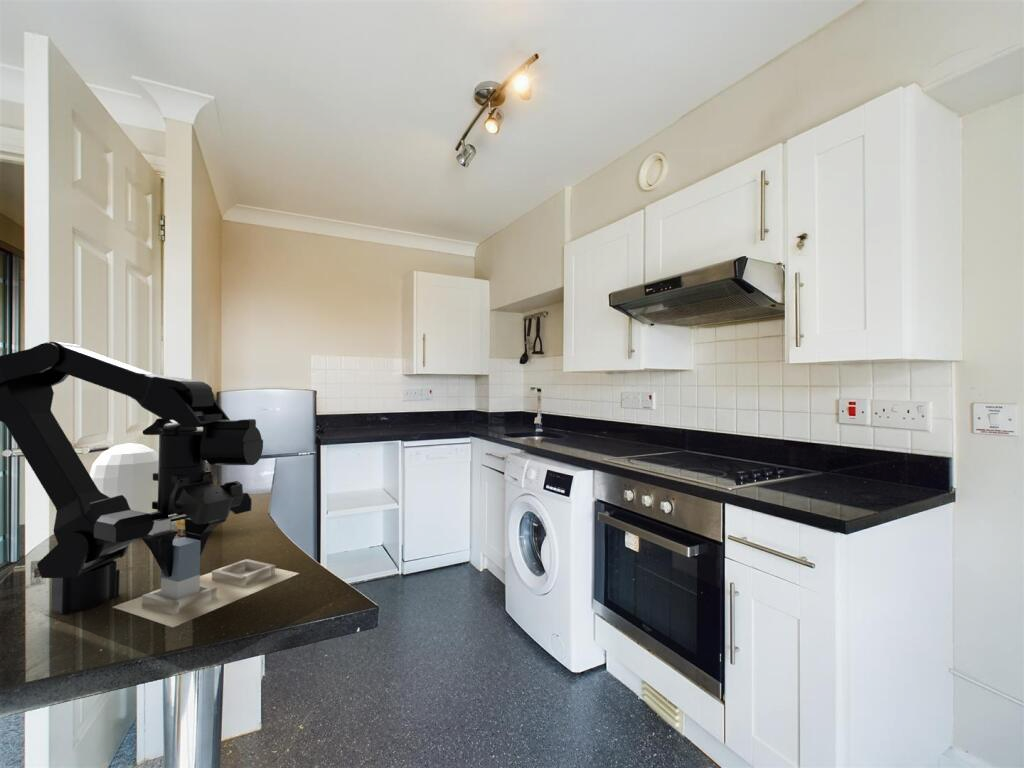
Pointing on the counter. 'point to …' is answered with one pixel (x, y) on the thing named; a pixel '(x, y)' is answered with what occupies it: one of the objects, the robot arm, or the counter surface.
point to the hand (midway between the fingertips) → (180, 572)
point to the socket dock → (208, 593)
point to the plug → (183, 570)
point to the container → (128, 475)
